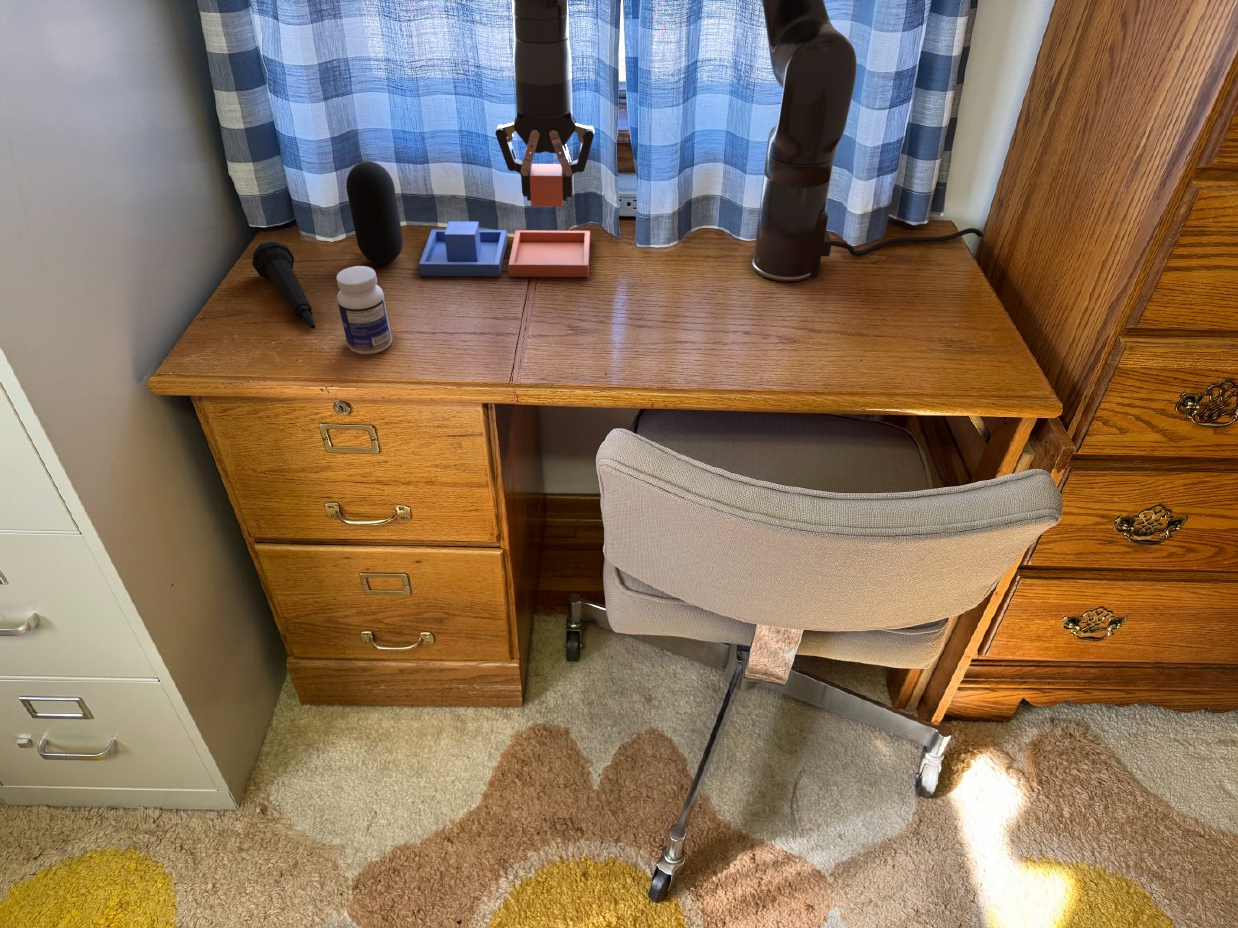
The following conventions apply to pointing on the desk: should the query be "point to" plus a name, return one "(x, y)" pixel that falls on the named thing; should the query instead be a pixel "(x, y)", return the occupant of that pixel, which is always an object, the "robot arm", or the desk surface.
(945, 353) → the desk surface
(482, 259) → the blue tray
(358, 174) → the decorative object
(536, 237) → the terracotta tray
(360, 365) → the desk surface
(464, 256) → the blue cube
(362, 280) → the pill bottle
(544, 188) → the terracotta cube
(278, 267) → the microphone
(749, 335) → the desk surface
